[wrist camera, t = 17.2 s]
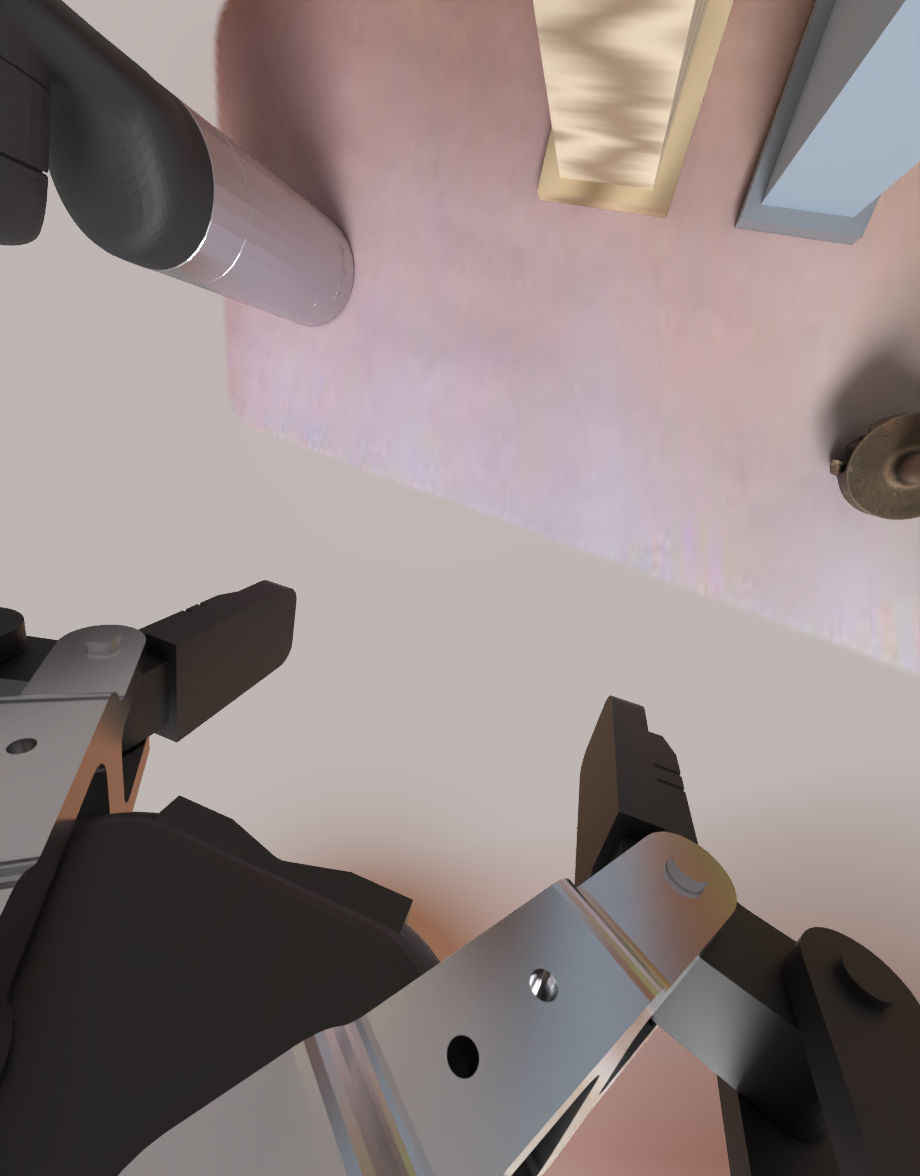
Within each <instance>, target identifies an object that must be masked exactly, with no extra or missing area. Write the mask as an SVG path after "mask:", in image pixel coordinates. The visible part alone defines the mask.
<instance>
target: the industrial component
mask: <svg viewBox="0 0 920 1176" xmlns="http://www.w3.org/2000/svg"><path fill="white" fill-rule="evenodd" d="M846 449H847V455H846V458H845V460H844V462H842V461H839V460H835V459H832V462H833V463H832V462H830V466H831V474H834V475H837V478H838V483H839V487H840V490H841V493H842V494H843V496H844V498H845V499H846V500H847V501H848V503H850V504H851V505H852V506H853V507H854V508H856V509H858V510H859V511H861V512H864V513H866V514H870V515H873V516H876V517H880V518H884V519H892V520H903V519H911V518H917V517H920V412H915V413H904V414H898V415H894V416H890V417H888V418H885V419H882V420H880V421H878V422H876V423H874V424H872V425H871V426H869V432H868V434H867V435H864V436H861V437H859V438H858V439H856V440H855V441H853V442H852V443H850V444H849V445H848V446H847V447H846Z"/></svg>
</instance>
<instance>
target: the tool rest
mask: <svg viewBox="0 0 920 1176" xmlns="http://www.w3.org/2000/svg"><path fill="white" fill-rule="evenodd" d="M733 1H734V0H533V5H534V11H535V18H536V24H537V31H538V37H539V44H540V51H541V57H542V64H543V70H544V77H545V83H546V90H547V97H548V103H549V110H550V116H551V123H552V126H551V131H550V135H549V140H548V144H547V149H546V153H545V158H544V162H543V167H542V171H541V176H540V180H539V185H538V189H537V192H538V196H539V199H540V200H547V201H554V202H561V203H568V204H574V205H581V206H588V207H595V208H602V209H609V210H616V211H623V212H630V213H636V214H643V215H650V216H657V217H664V218H666V216H667V213H668V210H669V207H670V204H671V200H672V197H673V194H674V191H675V188H676V184H677V181H678V178H679V175H680V171H681V168H682V165H683V162H684V159H685V155H686V152H687V149H688V146H689V143H690V139H691V136H692V133H693V130H694V126H695V123H696V120H697V117H698V114H699V110H700V107H701V104H702V101H703V98H704V94H705V91H706V88H707V85H708V81H709V78H710V75H711V72H712V69H713V65H714V62H715V59H716V56H717V52H718V49H719V46H720V43H721V40H722V36H723V33H724V30H725V27H726V24H727V20H728V17H729V14H730V11H731V7H732V4H733Z"/></svg>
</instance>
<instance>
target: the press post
mask: <svg viewBox="0 0 920 1176" xmlns="http://www.w3.org/2000/svg"><path fill="white" fill-rule="evenodd" d="M919 161H920V0H816V1H815V4H814V6H813V9H812V12H811V15H810V18H809V20H808V23H807V26H806V29H805V32H804V34H803V37H802V40H801V43H800V45H799V48H798V51H797V54H796V57H795V59H794V62H793V65H792V68H791V71H790V73H789V76H788V79H787V82H786V85H785V87H784V90H783V93H782V96H781V99H780V101H779V104H778V107H777V110H776V113H775V115H774V118H773V121H772V124H771V127H770V129H769V132H768V135H767V138H766V141H765V143H764V146H763V149H762V152H761V155H760V157H759V160H758V163H757V166H756V169H755V171H754V174H753V177H752V180H751V183H750V185H749V188H748V191H747V194H746V197H745V199H744V202H743V205H742V208H741V211H740V213H739V216H738V219H737V222H736V225H735V227H734V228H740V229H747V230H753V231H760V232H767V233H774V234H781V235H788V236H795V237H802V238H809V239H815V240H822V241H829V242H836V243H843V244H850V245H852V244H853V243H854V242H856V241H857V240H858V239H860V238H861V237H862V236H863V233H864V231H865V229H866V227H867V224H868V222H869V220H870V218H871V215H872V213H873V211H874V209H875V206H876V204H877V202H878V200H879V197H880V195H881V194H882V193H883V192H884V191H885V190H886V189H887V188H889V187H890V186H891V185H892V184H893V183H895V182H896V181H897V180H898V179H899V178H900V177H902V176H903V175H904V174H905V173H906V172H908V171H909V170H910V169H911V168H912V167H913V166H915V165H916V164H917V163H918V162H919Z"/></svg>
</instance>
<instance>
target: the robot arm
mask: <svg viewBox="0 0 920 1176" xmlns="http://www.w3.org/2000/svg"><path fill="white" fill-rule="evenodd" d="M48 168H49V171H50V174H51V177H52V179H53V182H54V185H55V187H56V190H57V192H58V194H59V196H60V198H61V200H62V202H63V204H64V206H65V208H66V210H67V211H68V213H69V214H70V216H71V217H72V219H73V220H74V222H75V223H76V224H77V226H78V227H79V228H80V229H81V230H82V231H83V233H84V234H85V235H86V236H87V237H88V238H89V239H91V240H92V241H93V242H94V243H95V244H97V245H98V246H100V247H101V248H102V249H104V250H105V251H107V252H108V253H110V254H112V255H114V256H116V257H119V258H121V259H123V260H126V261H128V262H131V263H134V264H137V265H139V266H142V267H145V268H149V269H151V270H154V271H157V272H160V273H162V274H165V275H168V276H170V277H173V278H176V279H179V280H181V281H184V282H187V283H190V284H193V285H195V286H198V287H201V288H204V289H207V290H209V291H212V292H214V293H217V294H220V295H223V296H225V297H228V298H231V299H233V300H236V301H239V302H242V303H244V304H247V305H250V306H252V307H255V308H258V309H261V310H263V311H266V312H269V313H271V314H274V315H276V316H279V317H282V318H285V319H287V320H290V321H293V322H295V323H298V324H301V325H306V326H319V325H322V324H326V323H328V322H329V321H331V320H332V319H334V318H335V317H336V316H337V315H338V314H339V313H340V312H341V311H342V309H343V308H344V306H345V304H346V303H347V301H348V298H349V296H350V293H351V290H352V285H353V280H354V265H353V257H352V253H351V250H350V247H349V243H348V242H347V240H346V238H345V236H344V234H343V232H342V231H341V230H340V229H339V227H338V226H337V225H336V224H335V223H334V222H333V221H331V220H330V219H329V218H328V217H326V216H325V215H324V214H323V213H321V212H320V211H319V210H318V209H316V208H315V207H314V206H313V205H312V204H310V203H309V202H308V201H307V200H306V199H304V198H303V197H302V196H301V195H299V194H298V193H297V192H296V191H294V190H293V189H292V188H291V187H289V186H288V185H287V184H286V183H284V182H283V181H282V180H281V179H279V178H278V177H277V176H276V175H274V174H273V173H272V172H271V171H269V170H268V169H267V168H265V167H264V166H263V165H262V164H260V163H259V162H258V161H257V160H255V159H254V158H253V157H252V156H250V155H249V154H248V153H247V152H245V151H244V150H243V149H242V148H240V147H239V146H238V145H237V144H235V143H234V142H233V141H232V140H230V139H229V138H228V137H227V136H225V135H224V134H223V133H222V132H220V131H219V130H218V129H217V128H215V127H214V126H212V125H211V124H210V123H209V122H207V121H206V120H205V119H203V118H202V117H201V116H200V115H199V114H197V113H196V112H195V111H193V110H192V109H191V108H190V107H188V106H187V105H186V104H185V103H183V102H182V101H181V100H180V99H178V98H177V97H176V96H175V95H173V94H172V93H171V92H169V91H168V90H167V89H166V88H164V87H163V86H162V85H161V84H159V83H158V82H157V81H156V80H154V79H153V78H152V77H151V76H150V75H149V74H148V73H147V72H146V71H145V70H144V69H142V68H141V67H140V66H139V65H138V64H137V63H135V62H134V61H133V60H131V59H130V58H129V57H128V56H127V55H125V54H124V53H123V52H122V51H121V50H119V49H118V48H117V47H116V46H115V45H113V44H112V43H111V42H110V41H108V40H107V39H106V38H105V37H103V36H102V35H101V34H100V33H99V32H98V31H96V30H95V29H94V28H93V27H92V26H91V25H89V24H88V23H87V22H86V21H85V20H84V19H83V18H81V17H80V16H79V15H78V14H77V13H76V12H74V11H73V10H72V9H71V8H70V7H69V6H67V5H66V4H65V3H64V2H63V1H62V0H0V245H22V244H26V243H29V242H32V241H33V240H35V239H36V238H37V237H38V235H39V234H40V231H41V228H42V224H43V221H44V215H45V209H46V202H47V187H48V177H47V176H46V175H45V174H43V173H42V171H44V172H46V173H47V172H48ZM295 609H296V593H295V591H294V590H293V589H291V588H288V587H285V586H282V585H279V584H276V583H273V582H270V581H267V580H264V581H261V582H258V583H256V584H254V585H252V586H249V587H247V588H245V589H243V590H240V591H238V592H233V593H228V594H222V595H218V596H215V597H213V598H211V599H209V600H206V601H204V602H201V604H200V605H198V604H197V605H195V606H192V607H190V608H188V609H186V611H181V612H178V613H176V614H174V615H171V616H169V617H167V618H164V619H162V620H160V621H158V622H155V623H153V624H150V625H148V626H146V627H144V628H141V629H139V630H137V629H135V628H132V627H128V626H122V625H99V626H91V627H86V628H82V629H79V630H76V631H73V632H71V633H68V634H67V635H65V636H63V637H62V638H60V639H59V640H52V639H45V638H38V637H31V636H26V631H25V624H24V617H23V616H22V615H21V614H20V613H19V612H17V611H15V610H12V609H8V608H1V607H0V1176H542V1175H543V1174H544V1173H545V1171H546V1170H547V1169H548V1167H549V1166H550V1165H551V1163H552V1162H553V1161H554V1160H555V1158H556V1157H557V1156H558V1154H559V1153H560V1152H561V1151H562V1149H563V1148H564V1146H565V1145H566V1144H567V1142H568V1141H569V1139H570V1138H571V1137H572V1135H573V1134H574V1133H575V1131H576V1130H577V1128H578V1127H579V1126H580V1124H581V1123H582V1122H583V1120H584V1119H585V1118H586V1116H587V1115H588V1113H589V1112H590V1111H591V1110H592V1108H593V1107H594V1106H595V1105H596V1103H597V1102H598V1101H599V1100H600V1098H601V1097H602V1096H603V1095H604V1093H605V1092H606V1091H607V1090H608V1088H609V1087H610V1086H611V1085H612V1083H613V1082H614V1081H615V1080H616V1078H617V1077H618V1076H619V1075H620V1073H621V1072H622V1071H623V1070H624V1068H625V1067H626V1066H627V1065H628V1063H629V1062H630V1061H631V1060H632V1059H633V1057H634V1056H635V1055H636V1053H637V1052H638V1051H639V1050H640V1048H641V1047H642V1046H643V1045H644V1044H645V1042H646V1041H647V1040H648V1038H649V1037H650V1036H651V1035H652V1034H653V1032H654V1031H655V1030H656V1028H657V1027H658V1026H660V1027H661V1028H662V1029H663V1030H664V1031H666V1032H667V1033H668V1034H669V1035H670V1036H672V1037H673V1038H674V1039H675V1040H677V1041H678V1042H679V1043H680V1044H681V1045H682V1046H684V1047H685V1048H686V1049H687V1050H688V1051H690V1052H691V1053H692V1054H693V1055H694V1056H696V1057H697V1058H698V1059H699V1060H701V1061H702V1062H703V1063H704V1064H705V1065H706V1066H708V1067H709V1068H710V1069H711V1070H712V1071H714V1072H715V1073H716V1074H717V1080H718V1087H719V1094H720V1101H721V1109H722V1116H723V1122H724V1130H725V1137H726V1145H727V1152H728V1159H729V1166H730V1173H731V1176H920V1005H919V1003H918V1001H917V1000H916V998H915V997H914V996H913V994H912V993H911V991H910V990H909V989H908V988H907V986H906V985H905V984H904V983H903V982H902V980H901V979H900V978H899V977H898V976H897V975H896V974H895V973H894V972H893V971H892V970H891V969H890V968H889V967H888V966H887V965H886V964H885V963H884V962H883V961H881V960H880V959H879V958H878V957H877V956H875V955H874V954H873V953H872V952H871V951H869V950H868V949H867V948H865V947H864V946H862V945H861V944H859V943H858V942H856V941H854V940H853V939H851V938H849V937H847V936H845V935H843V934H841V933H839V932H837V931H834V930H831V929H827V928H822V927H814V928H810V929H808V930H806V931H805V932H804V933H803V935H802V936H801V937H800V938H799V940H798V941H797V942H796V941H794V940H792V939H791V938H790V937H788V936H787V935H785V934H783V933H782V932H780V931H779V930H777V929H776V928H774V927H773V926H771V925H770V924H768V923H767V922H765V921H763V920H762V919H761V918H759V917H757V916H756V915H754V914H753V913H751V912H750V911H748V910H747V909H746V908H744V907H743V906H741V905H740V904H739V903H738V902H737V897H736V892H735V888H734V886H733V884H732V881H731V880H730V878H729V876H728V874H727V873H726V872H725V870H724V869H723V868H722V866H721V865H720V864H719V863H718V862H717V861H716V860H715V859H714V858H713V857H712V856H711V855H710V854H709V853H708V852H707V851H705V850H704V849H703V848H702V847H700V846H699V845H698V842H697V838H696V834H695V830H694V826H693V822H692V818H691V815H690V810H689V806H688V802H687V798H686V794H685V792H684V791H683V790H684V785H683V781H682V777H681V776H680V769H679V765H678V761H677V757H676V754H675V753H674V752H673V750H672V749H671V748H670V746H669V745H668V743H667V742H666V741H665V739H664V738H663V737H662V736H660V735H657V734H654V733H651V732H648V726H647V720H646V715H645V709H644V707H643V706H640V705H638V704H635V703H631V702H629V701H626V700H622V699H620V698H617V697H614V696H609V697H608V699H607V700H606V702H605V705H604V707H603V710H602V712H601V715H600V717H599V719H598V722H597V724H596V727H595V730H594V732H593V734H592V737H591V739H590V742H589V744H588V747H587V749H586V752H585V755H584V759H583V762H582V767H581V773H580V787H579V807H578V827H577V848H576V870H575V885H574V884H573V883H572V882H571V881H570V880H569V879H562V880H559V881H557V882H556V883H554V884H553V885H551V886H550V887H548V888H547V889H545V890H544V891H543V892H541V893H540V894H538V895H537V896H535V897H534V898H532V899H531V900H529V901H528V902H527V903H525V904H524V905H522V906H521V907H519V908H518V909H517V910H515V911H514V912H512V913H511V914H509V915H508V916H506V917H505V918H504V919H502V920H501V921H499V922H498V923H497V924H495V925H493V926H492V927H491V928H489V929H488V930H486V931H485V932H483V933H482V934H481V935H479V936H478V937H476V938H475V939H473V940H472V941H470V942H469V943H468V944H466V945H465V946H463V947H462V948H461V949H459V950H458V951H456V952H455V953H453V954H452V955H450V956H449V957H447V958H446V959H445V960H443V961H442V962H440V961H439V959H438V958H437V956H436V955H435V954H434V952H433V951H432V950H431V948H430V947H429V946H428V945H427V944H426V943H425V942H424V940H422V938H421V937H420V936H419V935H418V934H417V933H416V932H415V931H414V930H413V929H412V928H410V927H409V926H408V925H407V920H408V916H409V913H410V909H411V905H412V902H413V900H412V899H410V898H407V897H405V896H403V895H401V894H399V893H396V892H394V891H392V890H390V889H387V888H385V887H383V886H380V885H378V884H376V883H374V882H372V881H369V880H367V879H365V878H363V877H361V876H358V875H356V874H353V873H352V872H346V871H340V870H334V869H328V868H322V867H316V866H310V865H304V864H298V863H291V862H287V861H282V860H280V859H278V858H276V857H275V856H274V855H272V854H271V853H270V852H269V851H268V850H267V849H266V848H265V847H263V846H262V845H261V844H260V843H259V842H258V841H257V840H255V839H254V838H253V837H252V836H251V835H250V834H248V832H246V831H245V830H244V829H243V828H242V827H241V826H240V825H238V824H237V823H236V822H235V821H234V820H233V819H231V818H229V817H226V816H224V815H222V814H219V813H217V812H215V811H213V810H211V809H208V808H206V807H204V806H202V805H200V804H197V803H195V802H193V801H191V800H188V799H186V798H184V797H182V796H178V797H177V798H176V799H175V800H174V801H172V802H171V803H170V804H169V805H168V806H167V807H166V808H164V809H163V810H162V811H161V812H160V813H149V812H133V808H134V804H135V801H136V797H137V794H138V790H139V786H140V783H141V779H142V776H143V772H144V768H145V765H146V761H147V757H148V754H149V749H150V746H149V736H150V735H152V734H153V733H156V734H158V735H161V736H163V737H165V738H168V739H170V740H172V741H175V742H178V741H180V740H181V739H182V738H184V737H185V736H186V735H188V734H189V733H190V732H192V731H193V730H194V729H196V728H197V727H199V726H200V725H201V724H202V723H204V722H205V721H207V720H208V719H209V718H211V717H212V716H213V715H215V714H216V713H217V712H219V711H220V710H221V709H223V708H224V707H225V706H227V705H228V704H230V703H231V702H232V701H234V700H235V699H236V698H238V697H239V696H240V695H242V694H243V693H244V692H246V691H247V690H249V689H250V688H251V687H253V686H254V685H255V684H256V683H258V682H259V681H260V680H262V679H263V678H265V677H266V676H267V675H269V674H270V673H271V672H273V671H274V670H275V669H277V668H278V667H279V666H281V665H282V664H283V663H284V661H285V660H286V658H287V656H288V655H289V652H290V650H291V646H292V640H293V629H294V620H295Z"/></svg>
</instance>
